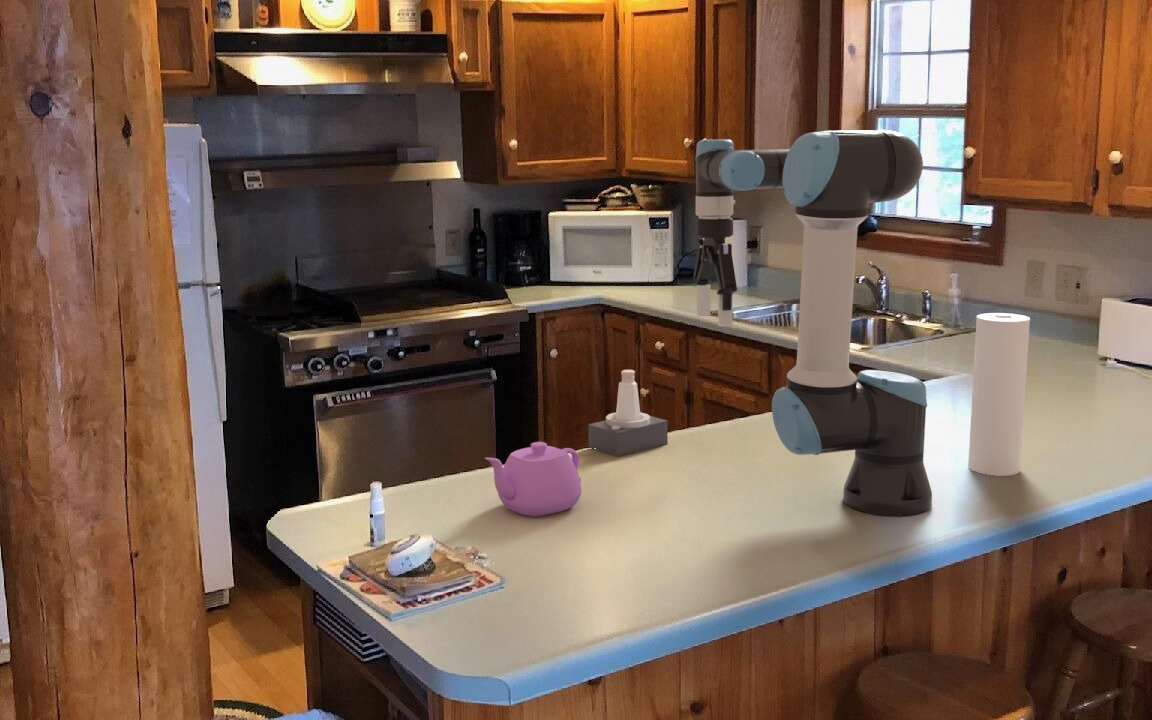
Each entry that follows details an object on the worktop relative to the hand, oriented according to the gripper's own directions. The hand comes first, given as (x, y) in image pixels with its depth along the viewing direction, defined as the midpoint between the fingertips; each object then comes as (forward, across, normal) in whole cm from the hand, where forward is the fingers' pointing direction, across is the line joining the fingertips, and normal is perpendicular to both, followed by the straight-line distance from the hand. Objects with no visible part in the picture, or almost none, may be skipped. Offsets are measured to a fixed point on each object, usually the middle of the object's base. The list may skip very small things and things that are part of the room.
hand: (714, 321), depth 245 cm
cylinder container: (+26, -32, -46) cm, 62 cm away
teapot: (+26, -32, +44) cm, 61 cm away
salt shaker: (+21, +2, +18) cm, 28 cm away
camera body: (+26, +2, +18) cm, 31 cm away
